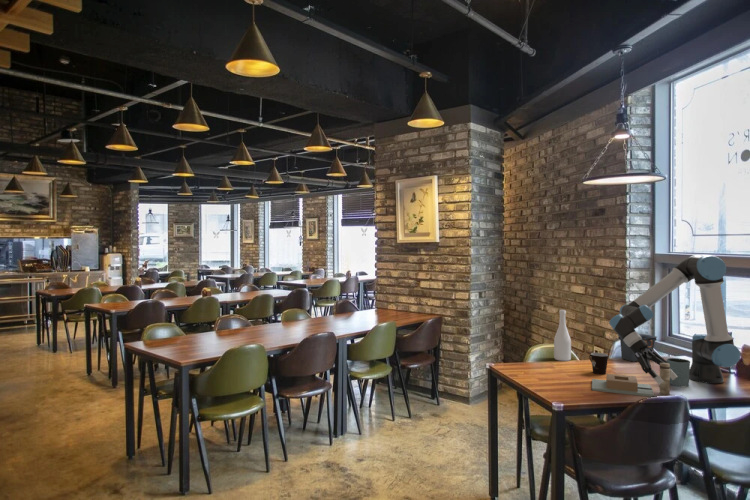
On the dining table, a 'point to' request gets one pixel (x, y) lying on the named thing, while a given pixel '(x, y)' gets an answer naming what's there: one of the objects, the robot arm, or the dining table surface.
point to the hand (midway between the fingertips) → (668, 380)
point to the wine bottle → (562, 340)
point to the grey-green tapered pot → (679, 371)
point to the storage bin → (627, 352)
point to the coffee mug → (599, 362)
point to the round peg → (665, 378)
